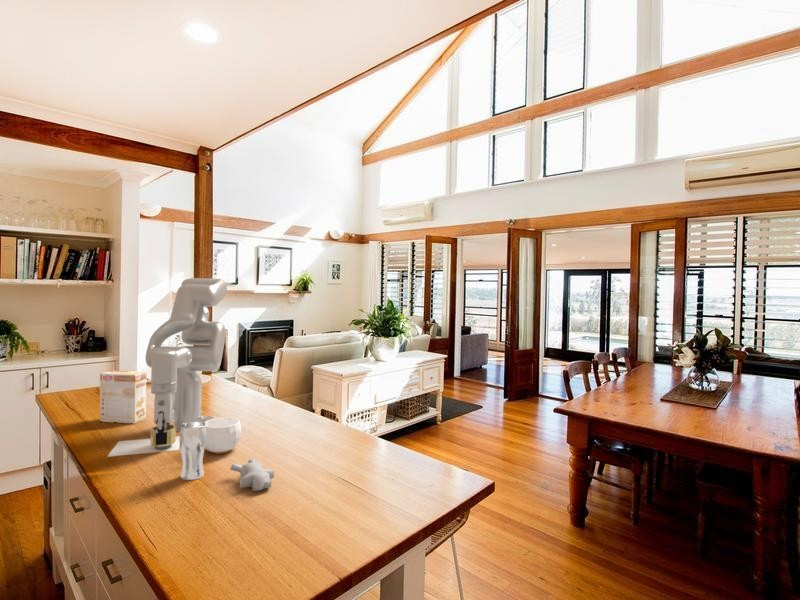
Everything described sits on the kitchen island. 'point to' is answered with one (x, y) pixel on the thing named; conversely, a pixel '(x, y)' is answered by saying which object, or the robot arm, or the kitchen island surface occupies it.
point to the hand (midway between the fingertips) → (163, 440)
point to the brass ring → (170, 435)
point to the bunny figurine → (254, 475)
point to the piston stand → (141, 447)
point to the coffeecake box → (122, 396)
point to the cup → (222, 434)
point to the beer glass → (192, 449)
